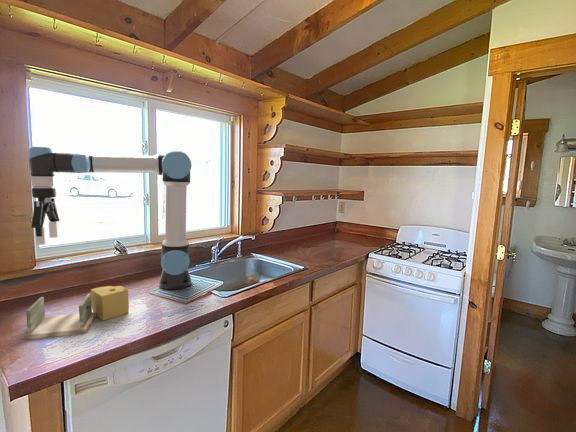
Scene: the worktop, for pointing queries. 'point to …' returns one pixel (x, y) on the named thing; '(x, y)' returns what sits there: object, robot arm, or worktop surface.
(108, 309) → the cheese
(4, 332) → the worktop surface
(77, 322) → the holder
